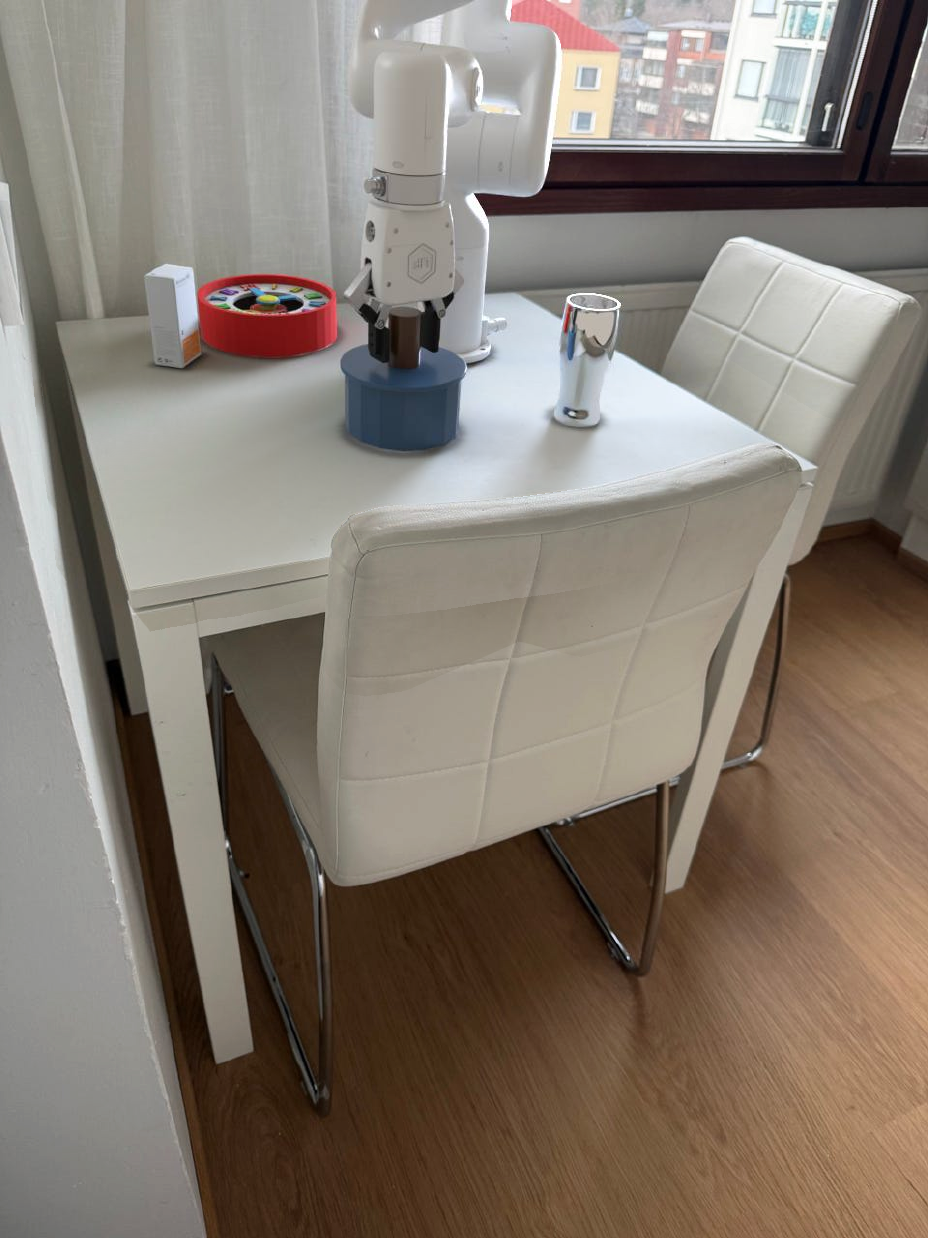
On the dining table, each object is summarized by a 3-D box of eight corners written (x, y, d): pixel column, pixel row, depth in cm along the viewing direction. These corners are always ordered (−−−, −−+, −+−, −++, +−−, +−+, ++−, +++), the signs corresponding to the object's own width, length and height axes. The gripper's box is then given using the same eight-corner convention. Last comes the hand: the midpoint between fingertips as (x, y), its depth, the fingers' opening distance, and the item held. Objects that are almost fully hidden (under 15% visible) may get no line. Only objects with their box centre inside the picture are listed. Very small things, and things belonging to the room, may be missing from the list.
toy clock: (226, 323, 122) (177, 281, 136) (230, 365, 126) (182, 320, 139) (360, 306, 132) (302, 268, 145) (360, 346, 135) (303, 306, 148)
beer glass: (607, 413, 121) (627, 298, 112) (596, 433, 116) (615, 314, 107) (557, 403, 123) (572, 289, 114) (543, 422, 117) (558, 304, 109)
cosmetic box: (183, 369, 124) (173, 278, 117) (154, 365, 124) (141, 274, 117) (203, 354, 129) (193, 266, 122) (174, 350, 129) (163, 262, 122)
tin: (415, 400, 120) (417, 340, 116) (479, 439, 112) (484, 376, 107) (325, 421, 113) (324, 358, 109) (386, 464, 105) (387, 398, 100)
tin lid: (418, 343, 117) (420, 285, 112) (491, 382, 108) (496, 321, 103) (316, 363, 109) (315, 301, 105) (386, 407, 100) (387, 342, 96)
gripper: (358, 201, 90) (358, 378, 100) (494, 189, 99) (481, 352, 109) (319, 186, 94) (323, 356, 105) (452, 175, 103) (444, 333, 114)
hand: (404, 352), depth 107 cm, fingers open, 6 cm apart
